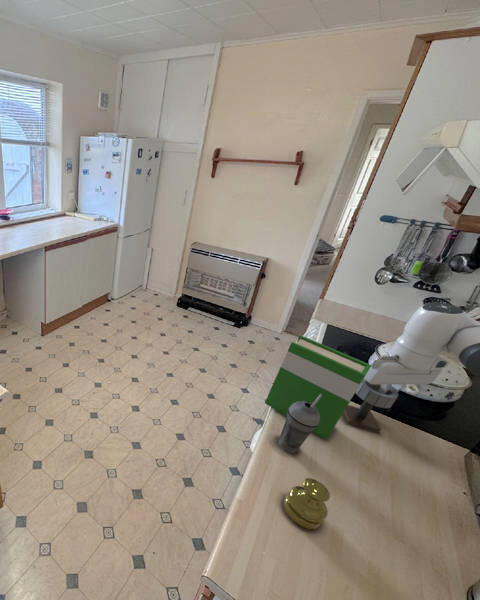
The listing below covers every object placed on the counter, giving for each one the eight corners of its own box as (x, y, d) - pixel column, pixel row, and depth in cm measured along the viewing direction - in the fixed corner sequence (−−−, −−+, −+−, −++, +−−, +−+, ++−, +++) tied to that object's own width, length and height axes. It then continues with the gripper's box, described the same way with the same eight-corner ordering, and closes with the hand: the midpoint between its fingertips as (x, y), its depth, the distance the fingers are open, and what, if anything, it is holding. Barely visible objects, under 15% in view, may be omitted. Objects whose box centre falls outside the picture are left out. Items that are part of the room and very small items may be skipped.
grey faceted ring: (384, 392, 100) (390, 382, 98) (397, 411, 92) (404, 401, 90) (350, 383, 102) (356, 374, 100) (360, 402, 95) (366, 391, 93)
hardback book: (264, 403, 105) (291, 342, 94) (274, 393, 110) (300, 335, 99) (326, 439, 93) (364, 375, 82) (334, 427, 98) (371, 365, 87)
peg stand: (368, 415, 104) (385, 389, 99) (378, 433, 97) (397, 406, 92) (339, 406, 106) (355, 381, 101) (347, 424, 99) (363, 397, 94)
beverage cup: (275, 430, 95) (301, 378, 86) (304, 445, 91) (334, 391, 82) (270, 446, 90) (297, 392, 81) (300, 462, 86) (331, 407, 77)
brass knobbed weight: (275, 503, 75) (291, 476, 71) (296, 492, 78) (312, 465, 74) (306, 536, 69) (325, 508, 65) (327, 522, 72) (347, 495, 68)
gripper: (388, 362, 87) (364, 400, 93) (455, 363, 89) (427, 400, 95) (368, 348, 92) (347, 385, 99) (431, 349, 94) (406, 385, 101)
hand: (386, 392), depth 97 cm, fingers closed on grey faceted ring
